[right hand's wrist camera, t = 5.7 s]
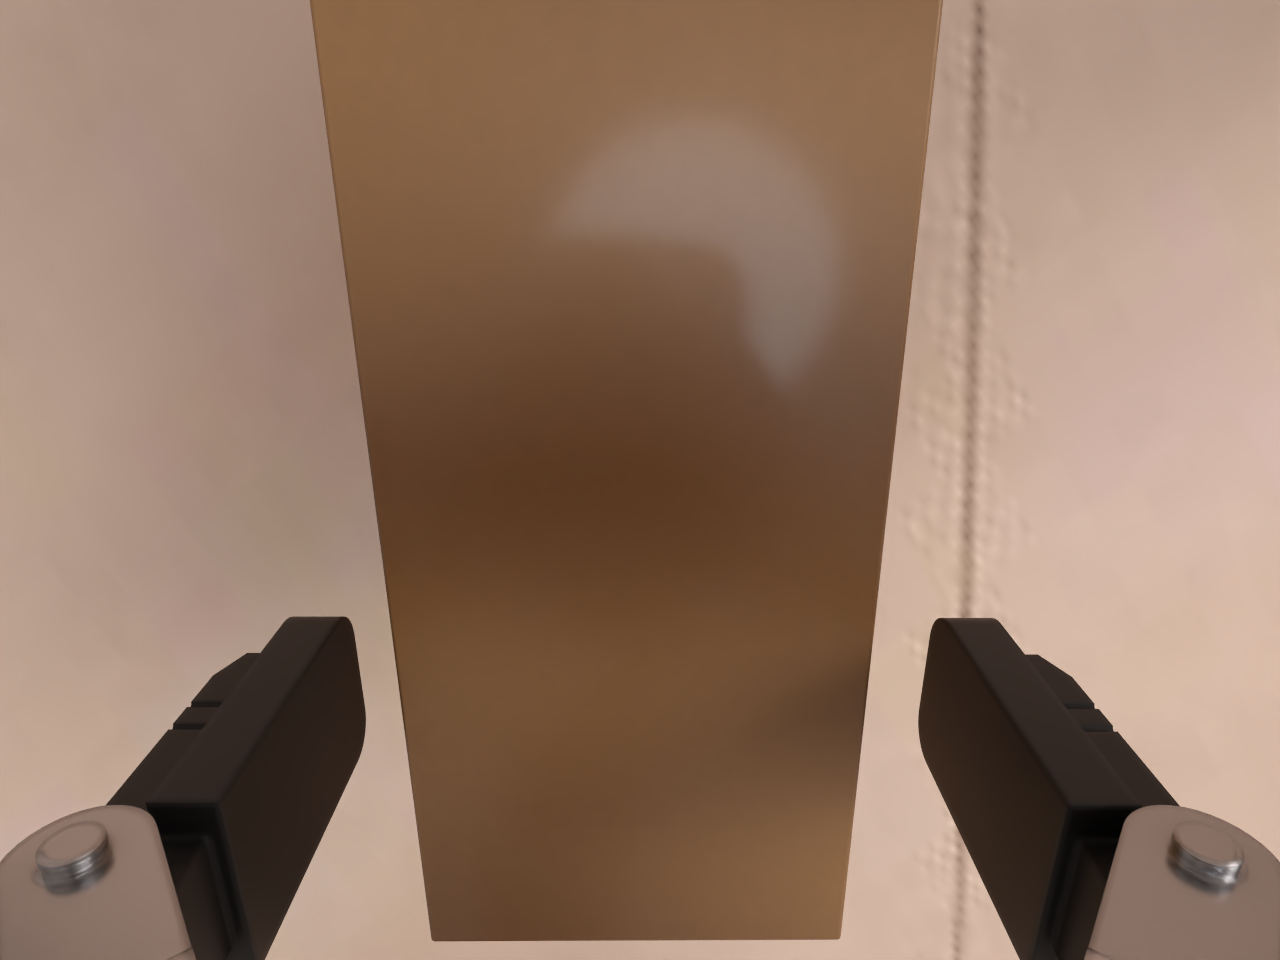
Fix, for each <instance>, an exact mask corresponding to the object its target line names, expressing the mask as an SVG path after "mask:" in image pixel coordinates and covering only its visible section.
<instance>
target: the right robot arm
mask: <svg viewBox="0 0 1280 960" xmlns="http://www.w3.org/2000/svg"><path fill="white" fill-rule="evenodd" d="M918 725H919V737H920V743H921V748H922V752H923V755H924V758H925V761H926V763H927V765H928V767H929V769H930V771H931V773H932V775H933V778H934V780H935V782H936V784H937V786H938V788H939V790H940V792H941V794H942V797H943V799H944V801H945V803H946V805H947V807H948V809H949V811H950V813H951V815H952V818H953V820H954V822H955V824H956V826H957V828H958V830H959V832H960V834H961V837H962V839H963V841H964V843H965V845H966V847H967V849H968V851H969V853H970V855H971V858H972V860H973V862H974V864H975V866H976V868H977V870H978V872H979V874H980V877H981V879H982V881H983V883H984V885H985V887H986V889H987V891H988V893H989V895H990V898H991V900H992V902H993V904H994V906H995V908H996V910H997V912H998V914H999V917H1000V919H1001V921H1002V923H1003V925H1004V927H1005V929H1006V931H1007V933H1008V935H1009V938H1010V940H1011V942H1012V944H1013V946H1014V948H1015V950H1016V952H1017V954H1018V957H1019V959H1020V960H1280V862H1279V861H1278V859H1277V858H1276V857H1275V856H1274V855H1273V854H1272V853H1271V852H1270V851H1269V850H1268V849H1267V848H1266V847H1265V846H1264V845H1262V844H1261V843H1260V842H1258V841H1257V840H1256V839H1254V838H1253V837H1252V836H1250V835H1249V834H1247V833H1246V832H1244V831H1242V830H1241V829H1239V828H1238V827H1236V826H1234V825H1232V824H1230V823H1228V822H1226V821H1224V820H1222V819H1219V818H1217V817H1215V816H1212V815H1210V814H1207V813H1204V812H1201V811H1198V810H1194V809H1190V808H1185V807H1180V806H1179V805H1178V803H1177V802H1176V801H1175V800H1174V799H1173V797H1172V796H1171V795H1170V794H1169V793H1168V791H1167V790H1166V789H1165V788H1164V787H1163V785H1162V784H1161V783H1160V782H1159V781H1158V779H1157V778H1156V777H1155V776H1154V775H1153V774H1152V772H1151V771H1150V770H1149V769H1148V768H1147V766H1146V765H1145V764H1144V763H1143V762H1142V760H1141V759H1140V758H1139V757H1138V756H1137V754H1136V753H1135V752H1134V751H1133V750H1132V748H1131V747H1130V746H1129V745H1128V744H1127V742H1126V741H1125V740H1124V739H1123V738H1122V736H1121V735H1120V734H1119V733H1118V732H1114V731H1113V726H1112V724H1111V723H1110V722H1109V721H1108V720H1107V718H1106V717H1105V716H1104V715H1103V714H1102V712H1101V711H1100V710H1099V709H1095V708H1094V703H1093V702H1092V700H1091V699H1090V698H1089V697H1088V696H1087V694H1086V693H1085V692H1084V691H1083V690H1082V688H1081V687H1080V686H1079V685H1078V684H1077V682H1076V681H1075V680H1074V679H1073V678H1072V677H1071V676H1069V675H1068V674H1066V673H1065V672H1063V671H1062V670H1060V669H1059V668H1057V667H1056V666H1054V665H1053V664H1051V663H1050V662H1048V661H1047V660H1045V659H1044V658H1042V657H1041V656H1039V655H1025V654H1024V653H1023V652H1022V650H1021V649H1020V648H1019V646H1018V645H1017V644H1016V643H1015V641H1014V640H1013V639H1012V637H1011V636H1010V635H1009V634H1008V632H1007V631H1006V630H1005V628H1004V627H1003V626H1002V625H1001V623H1000V622H999V621H998V620H996V619H994V618H938V619H937V620H936V621H935V622H934V624H933V626H932V629H931V634H930V640H929V647H928V653H927V660H926V667H925V674H924V681H923V687H922V694H921V701H920V708H919V719H918ZM365 727H366V713H365V705H364V698H363V691H362V684H361V677H360V670H359V663H358V657H357V650H356V643H355V636H354V630H353V627H352V624H351V622H350V620H349V619H348V618H347V617H289V618H288V619H287V620H286V621H285V622H284V623H283V624H282V626H281V627H280V628H279V629H278V631H277V632H276V633H275V635H274V636H273V637H272V639H271V640H270V641H269V642H268V644H267V645H266V646H265V648H264V649H263V650H262V652H261V653H247V654H245V655H244V656H242V657H241V658H239V659H237V660H236V661H234V662H233V663H231V664H230V665H228V666H227V667H225V668H224V669H222V670H221V671H219V672H218V673H216V674H215V675H213V676H212V678H211V679H210V680H209V681H208V682H207V684H206V685H205V686H204V687H203V688H202V690H201V691H200V692H199V693H198V694H197V696H196V697H195V698H194V699H193V701H192V702H191V707H187V708H186V709H185V710H184V711H183V713H182V714H181V715H180V716H179V717H178V719H177V720H176V721H175V722H174V723H173V729H172V730H168V731H167V732H166V733H165V734H164V736H163V737H162V738H161V739H160V740H159V742H158V743H157V744H156V745H155V746H154V748H153V749H152V750H151V751H150V752H149V754H148V755H147V756H146V757H145V759H144V760H143V761H142V762H141V763H140V765H139V766H138V767H137V768H136V769H135V771H134V772H133V773H132V774H131V775H130V777H129V778H128V779H127V780H126V781H125V783H124V784H123V785H122V786H121V788H120V789H119V790H118V791H117V792H116V794H115V795H114V796H113V797H112V798H111V800H110V801H109V802H108V803H107V804H106V806H100V807H95V808H90V809H86V810H82V811H79V812H76V813H73V814H70V815H68V816H65V817H63V818H61V819H58V820H56V821H54V822H52V823H50V824H48V825H46V826H44V827H42V828H41V829H39V830H38V831H36V832H34V833H33V834H31V835H30V836H28V837H27V838H26V839H24V840H23V841H22V842H20V843H19V844H18V845H16V846H15V847H14V848H13V849H12V850H11V851H10V852H9V853H8V854H7V855H6V856H5V857H4V858H3V859H2V861H1V862H0V960H265V958H266V956H267V954H268V951H269V949H270V947H271V945H272V943H273V941H274V939H275V936H276V934H277V932H278V930H279V928H280V926H281V924H282V922H283V919H284V917H285V915H286V913H287V911H288V909H289V907H290V905H291V902H292V900H293V898H294V896H295V894H296V892H297V890H298V887H299V885H300V883H301V881H302V879H303V877H304V875H305V873H306V870H307V868H308V866H309V864H310V862H311V860H312V858H313V856H314V853H315V851H316V849H317V847H318V845H319V843H320V841H321V838H322V836H323V834H324V832H325V830H326V828H327V826H328V824H329V821H330V819H331V817H332V815H333V813H334V811H335V809H336V806H337V804H338V802H339V800H340V798H341V796H342V794H343V792H344V789H345V787H346V785H347V783H348V781H349V779H350V777H351V775H352V772H353V770H354V768H355V766H356V764H357V762H358V759H359V757H360V754H361V751H362V747H363V743H364V737H365Z"/></svg>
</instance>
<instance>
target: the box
mask: <svg viewBox="0 0 1280 960" xmlns="http://www.w3.org/2000/svg"><path fill="white" fill-rule="evenodd" d="M942 4H943V0H310V6H311V13H312V21H313V29H314V36H315V44H316V52H317V59H318V67H319V75H320V83H321V90H322V98H323V106H324V113H325V121H326V129H327V137H328V144H329V152H330V160H331V167H332V175H333V183H334V191H335V198H336V206H337V214H338V221H339V229H340V237H341V244H342V252H343V260H344V268H345V275H346V283H347V291H348V298H349V306H350V314H351V322H352V329H353V337H354V345H355V352H356V360H357V368H358V375H359V383H360V391H361V399H362V406H363V414H364V422H365V429H366V437H367V445H368V453H369V460H370V468H371V476H372V483H373V491H374V499H375V506H376V514H377V522H378V530H379V537H380V545H381V553H382V560H383V568H384V576H385V584H386V591H387V599H388V607H389V614H390V622H391V630H392V638H393V645H394V653H395V661H396V668H397V676H398V684H399V691H400V699H401V707H402V715H403V722H404V730H405V738H406V745H407V753H408V761H409V769H410V776H411V784H412V792H413V799H414V807H415V815H416V822H417V830H418V838H419V846H420V853H421V861H422V869H423V876H424V884H425V892H426V900H427V907H428V915H429V923H430V930H431V938H432V940H433V941H599V940H829V939H839V938H840V935H841V927H842V917H843V908H844V899H845V890H846V881H847V872H848V863H849V854H850V844H851V835H852V826H853V817H854V808H855V799H856V790H857V780H858V771H859V762H860V753H861V744H862V735H863V726H864V717H865V707H866V698H867V689H868V680H869V671H870V662H871V653H872V644H873V634H874V625H875V616H876V607H877V598H878V589H879V580H880V570H881V561H882V552H883V543H884V534H885V525H886V516H887V507H888V497H889V488H890V479H891V470H892V461H893V452H894V443H895V433H896V424H897V415H898V406H899V397H900V388H901V379H902V370H903V360H904V351H905V342H906V333H907V324H908V315H909V306H910V296H911V287H912V278H913V269H914V260H915V251H916V242H917V233H918V223H919V214H920V205H921V196H922V187H923V178H924V169H925V160H926V150H927V141H928V132H929V123H930V114H931V105H932V96H933V86H934V77H935V68H936V59H937V50H938V41H939V32H940V23H941V13H942Z"/></svg>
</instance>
